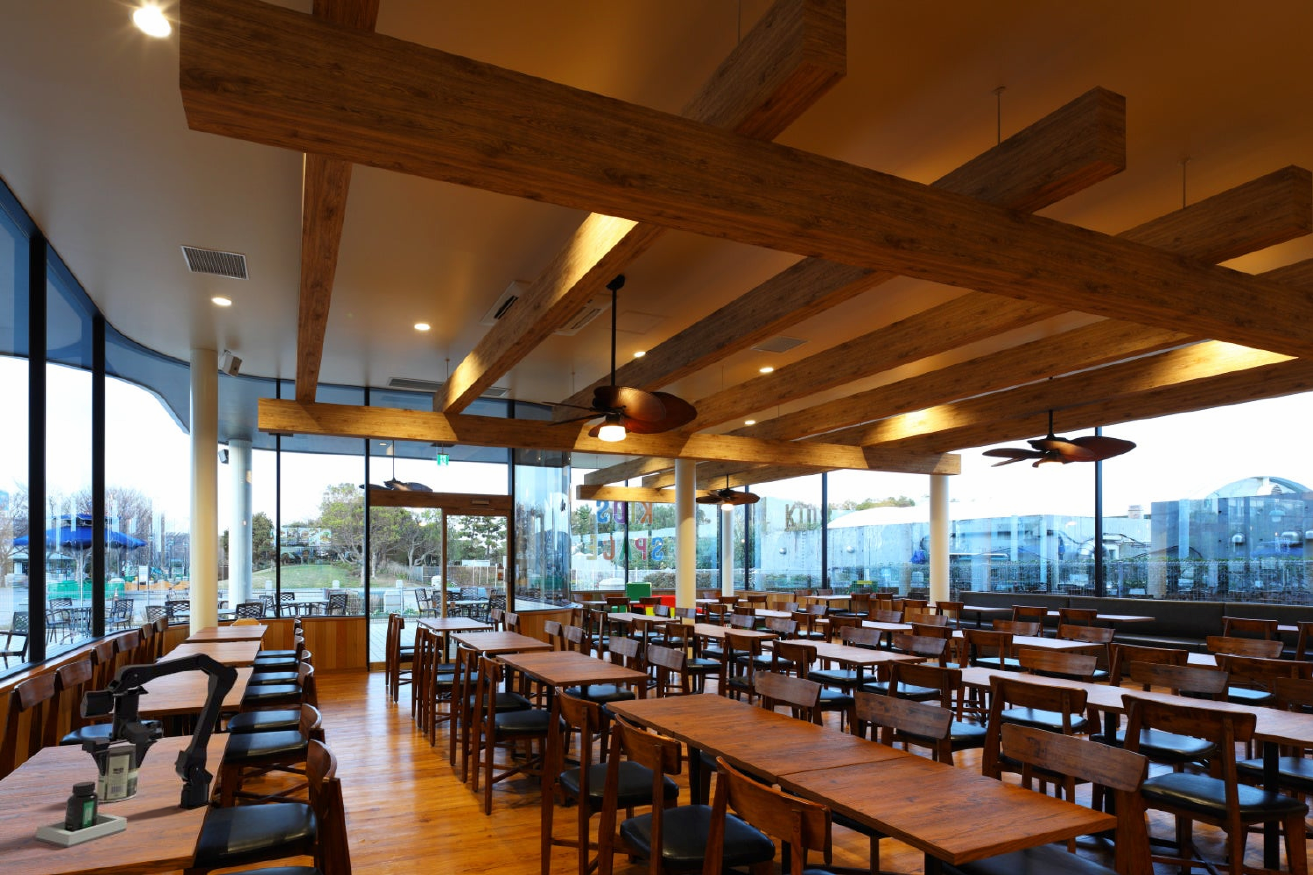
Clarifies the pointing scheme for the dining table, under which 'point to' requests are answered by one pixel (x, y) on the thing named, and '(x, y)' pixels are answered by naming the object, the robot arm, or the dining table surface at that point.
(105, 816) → the tray
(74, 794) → the supplement bottle
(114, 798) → the coffee can
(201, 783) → the robot arm
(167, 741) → the dining table surface
